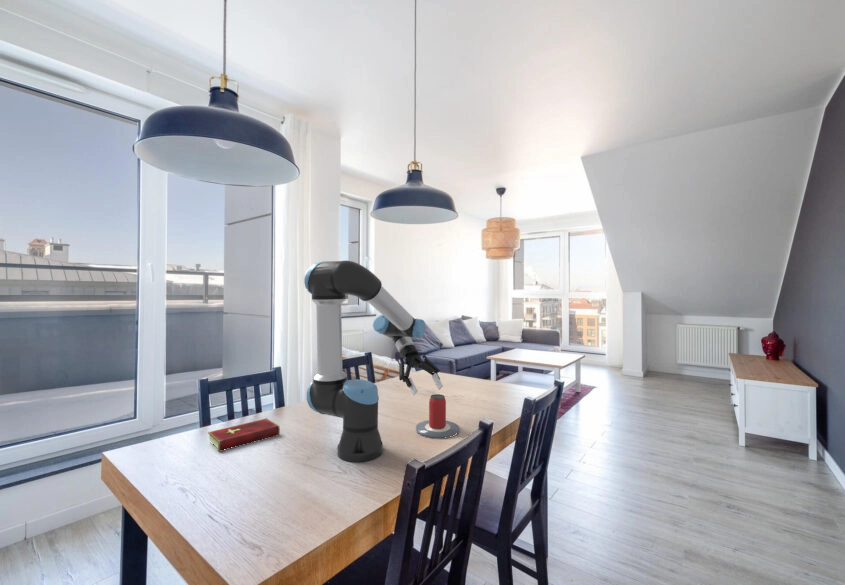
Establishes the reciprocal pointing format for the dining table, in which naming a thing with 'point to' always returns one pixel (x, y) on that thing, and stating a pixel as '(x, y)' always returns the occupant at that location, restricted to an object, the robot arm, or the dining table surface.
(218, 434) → the hardcover book
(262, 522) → the dining table surface
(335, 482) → the dining table surface
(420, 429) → the plate
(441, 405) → the beer can
